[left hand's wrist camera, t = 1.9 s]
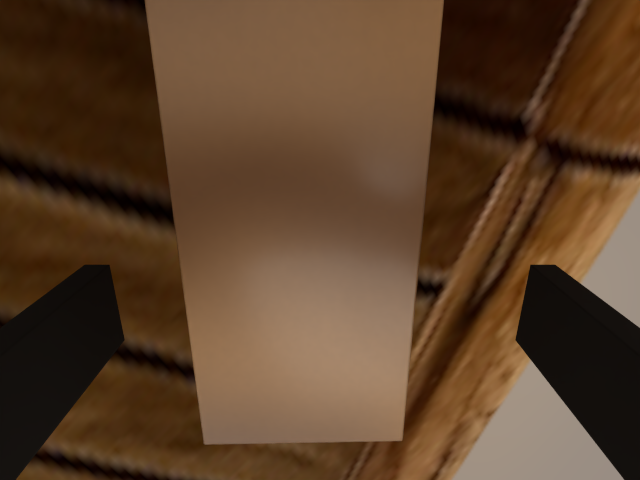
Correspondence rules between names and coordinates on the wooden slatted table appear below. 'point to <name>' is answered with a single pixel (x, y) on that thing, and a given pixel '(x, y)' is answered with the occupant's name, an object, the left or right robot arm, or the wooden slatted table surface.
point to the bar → (298, 206)
